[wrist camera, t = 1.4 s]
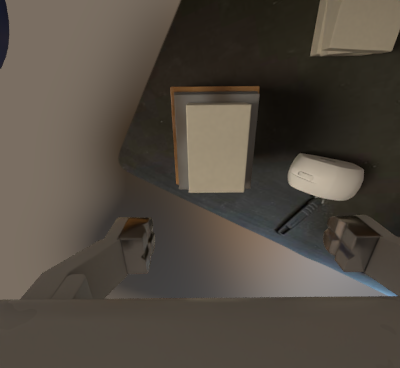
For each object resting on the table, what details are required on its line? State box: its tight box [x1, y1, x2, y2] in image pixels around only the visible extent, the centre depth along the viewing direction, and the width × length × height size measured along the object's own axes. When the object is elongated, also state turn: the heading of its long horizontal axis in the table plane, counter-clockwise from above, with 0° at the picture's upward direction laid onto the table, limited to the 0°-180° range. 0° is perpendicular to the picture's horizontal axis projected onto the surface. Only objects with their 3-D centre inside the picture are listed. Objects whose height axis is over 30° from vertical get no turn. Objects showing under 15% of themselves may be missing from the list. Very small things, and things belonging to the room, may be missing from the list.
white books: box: [310, 0, 400, 57], centre depth 27 cm, size 9×10×6 cm
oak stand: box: [170, 86, 260, 189], centre depth 30 cm, size 10×12×14 cm
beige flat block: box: [186, 103, 252, 193], centre depth 22 cm, size 6×9×2 cm, turn 0°
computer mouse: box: [288, 153, 364, 201], centre depth 37 cm, size 6×13×6 cm, turn 78°
